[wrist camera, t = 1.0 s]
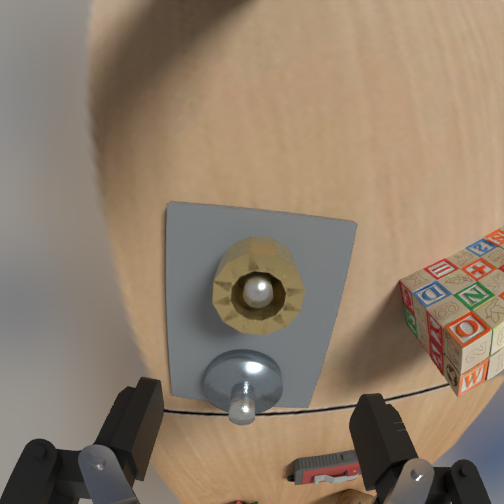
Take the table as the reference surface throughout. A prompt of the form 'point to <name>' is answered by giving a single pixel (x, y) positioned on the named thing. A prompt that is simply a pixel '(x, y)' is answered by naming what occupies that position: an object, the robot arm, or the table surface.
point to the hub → (243, 384)
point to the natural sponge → (355, 498)
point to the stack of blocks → (461, 312)
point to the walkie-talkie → (326, 468)
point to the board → (201, 293)
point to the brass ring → (261, 260)
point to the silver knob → (258, 288)
